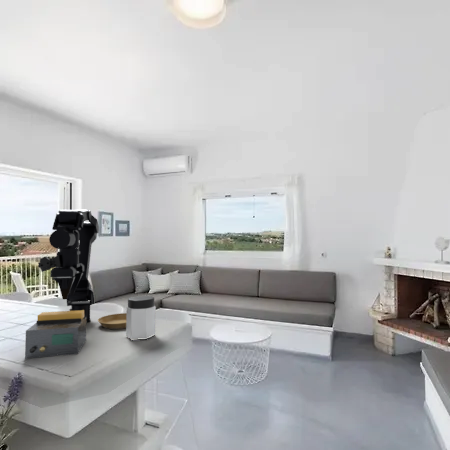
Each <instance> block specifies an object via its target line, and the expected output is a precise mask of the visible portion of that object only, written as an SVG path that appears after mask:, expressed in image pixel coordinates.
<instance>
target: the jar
mask: <svg viewBox="0 0 450 450" xmlns="http://www.w3.org/2000/svg"><path fill="white" fill-rule="evenodd" d="M156 309H157V307H156V305H155V296H153V295H137V296H131V297H128V298H127V306H126V313H127V314H126V328H125V331H126V333H125V334H126V335H125V336H127V337H128V338H127V337H126V338H127V339H129V338H130V339H138V338H147V337H149V336H151V335H153V334H155V335H156V328H157V327H156V323H157V322H156V321H157V320H156V312H157V311H156ZM130 339H129V340H130Z"/></svg>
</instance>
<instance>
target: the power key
mask: <svg viewBox="0 0 450 450" xmlns="http://www.w3.org/2000/svg"><path fill="white" fill-rule="evenodd" d="M76 318H81V320H82V319H83V318H84V310H78V311H69V310H65V311H64V310H63V311H45V312H44V311H43V312H40V313H39V314H38V315H37V321H42V320H59V319H76Z"/></svg>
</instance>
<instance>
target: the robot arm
mask: <svg viewBox="0 0 450 450" xmlns="http://www.w3.org/2000/svg"><path fill="white" fill-rule="evenodd" d="M52 231H53V232H51V234H50V236H49V239H48V240H49V244H50V245H51V247H53V248H54V249H57V250H59V251H57V252H56V256H54V257H51V258H49V257H48V256H44V257H40V258H39V262H37V264H38V265H37V267H38V268H40V271H41V273H42V272H46V271H50V275H49V276H50V278H51V279H52V280H53V281H55V282H56V283H57V284H58V286H59V290H60V293H61V297H62V300H66V306H67V307H70V309H69V310H68V311H78V310H84V314H85V317H86V323H91V321H92V320H91V306H92V305H95V303H96V302H95V301H96V300H95V299H96V298H95V292H94V290H93V287H92V284H91V282H90V281H89V272H90V271H89V270H90V261H91V253H92V245H93V243H94V242H95V241H96V240H97V237H98V236H97V235H98V234H99V231H100V226H99V221H98V219H97V218H96V217H95V216H94V215H92V211H91V210H89V209H59V210H58V213H56V214H55V218H54V222H53V225H52Z"/></svg>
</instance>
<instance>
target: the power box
mask: <svg viewBox="0 0 450 450" xmlns="http://www.w3.org/2000/svg"><path fill="white" fill-rule="evenodd" d="M86 342H87V322H86V317H85V314H84V318H83V319H82V320H81V318H76V319H59V320H42V321H38V320H36V322H35V323H34V324H32V326H30V327H29V328H28V329H26V330H25V349H24V350H25V351H24V358H25V359H35V358H47V357H58V356H72V355H78V354H79V353H78V352H80V351H81V349H82V347H83V346H84V344H85V343H86Z"/></svg>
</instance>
